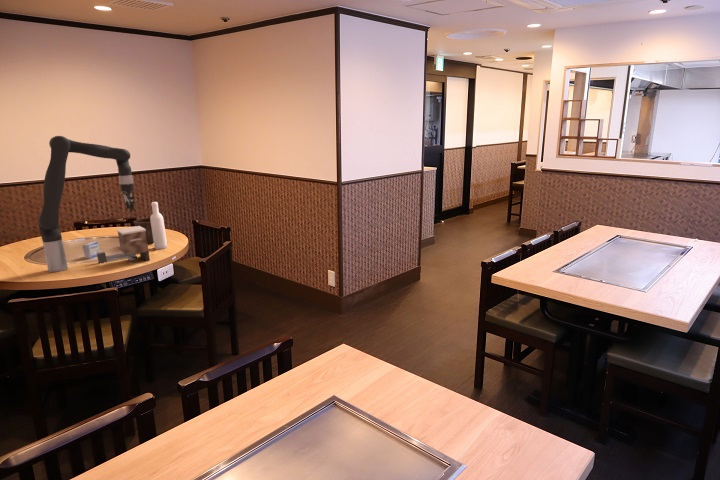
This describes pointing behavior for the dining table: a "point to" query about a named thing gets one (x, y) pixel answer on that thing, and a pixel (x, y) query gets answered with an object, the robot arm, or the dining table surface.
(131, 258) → the steel token
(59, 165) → the robot arm
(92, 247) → the medicine box
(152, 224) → the bottle
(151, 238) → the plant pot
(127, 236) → the walnut cabinet
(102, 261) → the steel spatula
